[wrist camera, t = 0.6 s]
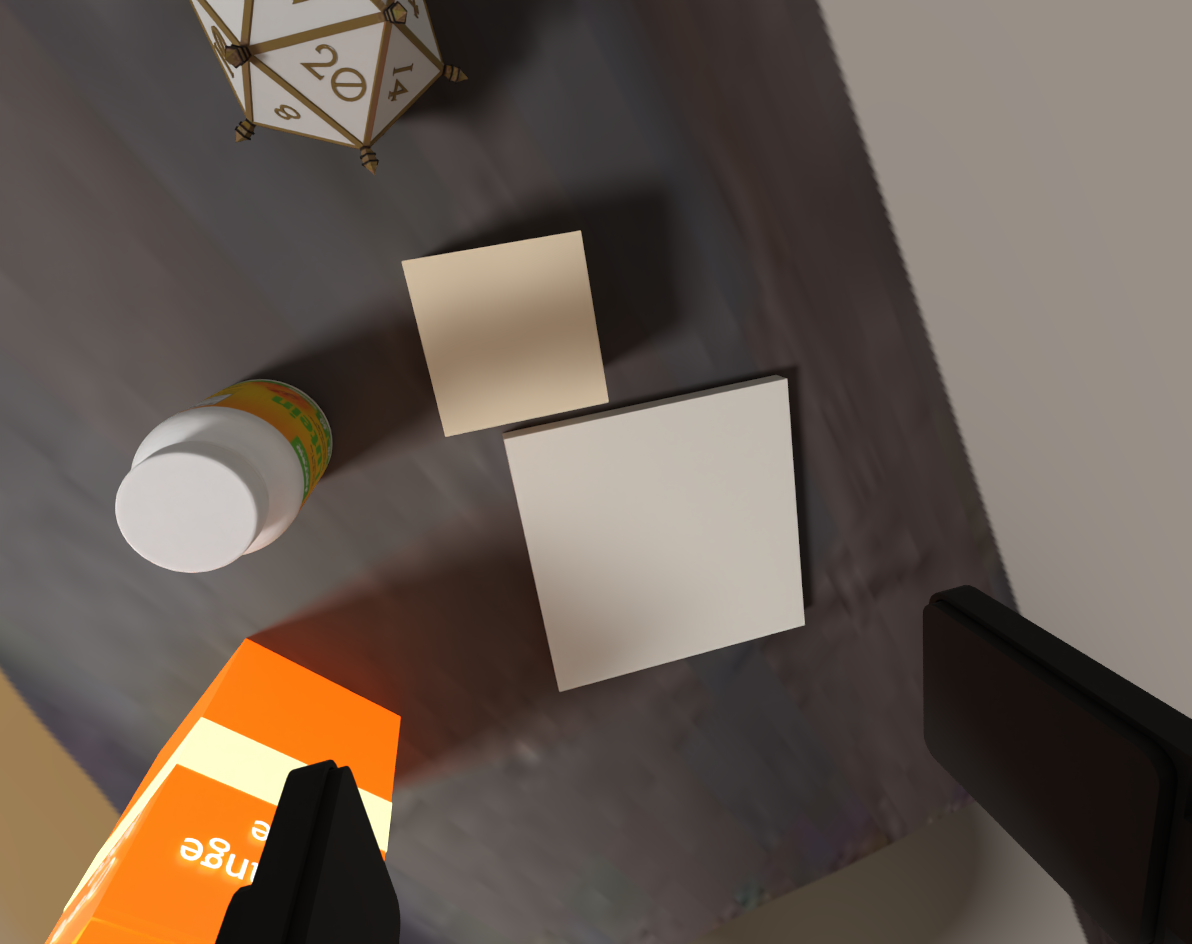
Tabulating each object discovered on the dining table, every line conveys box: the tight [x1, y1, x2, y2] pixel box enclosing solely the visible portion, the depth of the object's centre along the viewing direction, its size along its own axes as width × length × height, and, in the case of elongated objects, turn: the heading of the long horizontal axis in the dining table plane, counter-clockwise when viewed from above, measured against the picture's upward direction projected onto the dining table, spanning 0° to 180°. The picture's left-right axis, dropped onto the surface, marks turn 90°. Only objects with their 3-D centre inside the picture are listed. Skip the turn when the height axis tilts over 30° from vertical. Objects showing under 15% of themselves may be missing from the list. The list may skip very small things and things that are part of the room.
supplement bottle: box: [115, 379, 333, 573], centre depth 25 cm, size 5×5×10 cm
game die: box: [189, 0, 468, 175], centre depth 22 cm, size 9×8×10 cm
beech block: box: [402, 230, 609, 437], centre depth 27 cm, size 6×6×6 cm
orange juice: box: [45, 639, 401, 944], centre depth 24 cm, size 8×9×20 cm
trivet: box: [502, 375, 805, 692], centre depth 34 cm, size 14×14×1 cm
